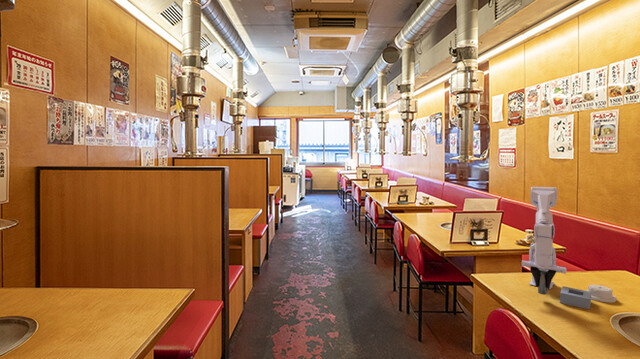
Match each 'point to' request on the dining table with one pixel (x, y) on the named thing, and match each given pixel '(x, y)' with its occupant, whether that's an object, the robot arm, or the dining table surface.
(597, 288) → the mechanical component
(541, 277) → the steel pin
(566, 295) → the block
